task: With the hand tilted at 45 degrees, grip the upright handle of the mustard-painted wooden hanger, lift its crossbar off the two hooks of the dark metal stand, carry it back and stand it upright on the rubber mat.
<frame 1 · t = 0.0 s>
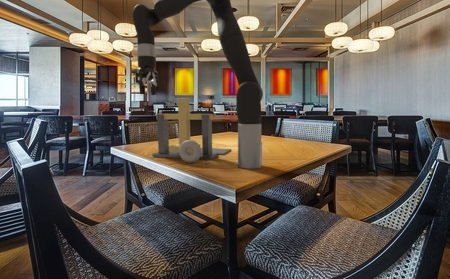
hand: (148, 94, 114), 29 cm above the table, tool pointing down, fingers open, 8 cm apart
hanger: (185, 150, 126), point 3 cm above the table, touching stand
stand: (185, 156, 126), on the table
donut: (190, 163, 112), on the table
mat: (209, 151, 138), on the table
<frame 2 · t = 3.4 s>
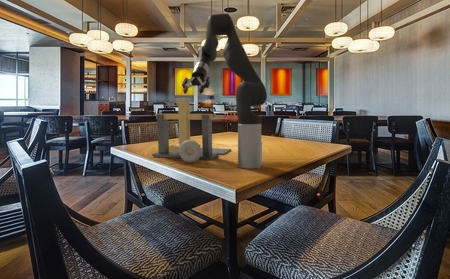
hand: (192, 92, 132), 31 cm above the table, tool tilted 45°, fingers open, 8 cm apart
nothing on the table moved.
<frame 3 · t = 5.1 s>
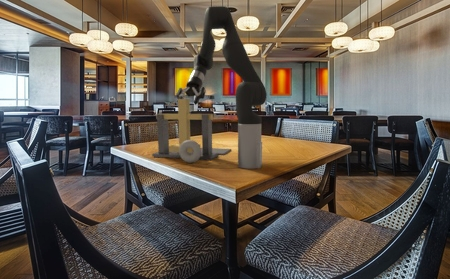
hand: (186, 103, 126), 25 cm above the table, tool tilted 45°, fingers open, 8 cm apart
nothing on the table moved.
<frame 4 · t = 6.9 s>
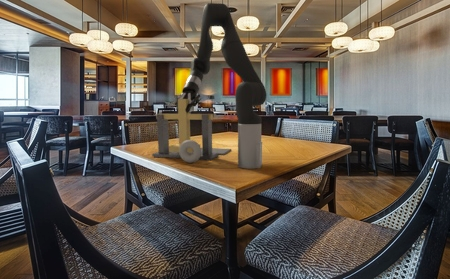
hand: (182, 111, 121), 22 cm above the table, tool tilted 45°, fingers closed on hanger, 4 cm apart
hanger: (185, 150, 126), point 3 cm above the table, touching gripper, stand
everything else where it was.
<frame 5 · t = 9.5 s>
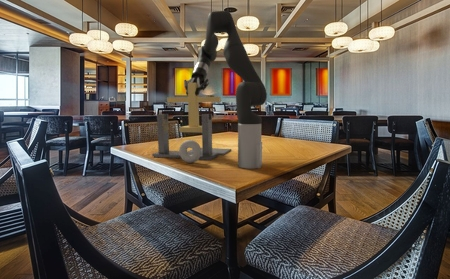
hand: (191, 94, 130), 30 cm above the table, tool tilted 45°, fingers closed on hanger, 4 cm apart
hanger: (194, 131, 134), point 11 cm above the table, touching gripper
everything else where it was.
when the fingers open (21 cm above the table, at t = 12.2 s): hanger drops 1 cm, resting on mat.
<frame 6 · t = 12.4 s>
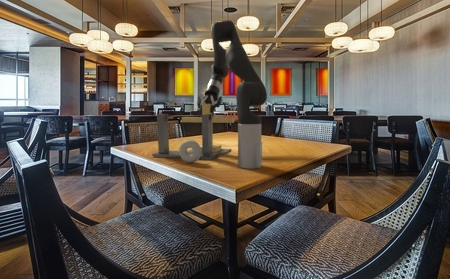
hand: (205, 112, 134), 21 cm above the table, tool tilted 45°, fingers open, 5 cm apart
hanger: (207, 150, 139), point 1 cm above the table, touching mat
everything else where it was.
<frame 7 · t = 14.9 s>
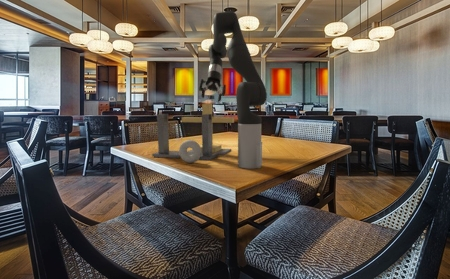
hand: (211, 99, 138), 28 cm above the table, tool tilted 30°, fingers open, 8 cm apart
nothing on the table moved.
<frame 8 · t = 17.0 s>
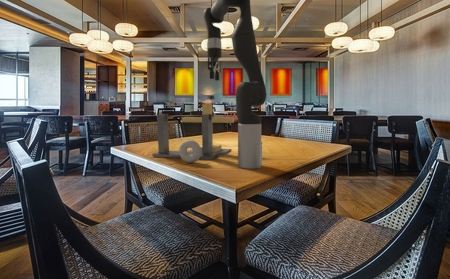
hand: (214, 79, 140), 38 cm above the table, tool pointing down, fingers open, 8 cm apart
nothing on the table moved.
at the end: hanger inside the target area (0.2 cm from its centre), point 0.8 cm above the table; hanger tilted 0°; the gripper is holding nothing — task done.
